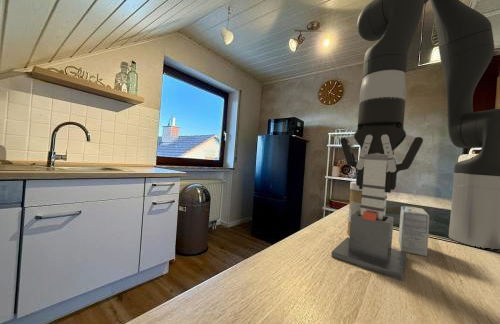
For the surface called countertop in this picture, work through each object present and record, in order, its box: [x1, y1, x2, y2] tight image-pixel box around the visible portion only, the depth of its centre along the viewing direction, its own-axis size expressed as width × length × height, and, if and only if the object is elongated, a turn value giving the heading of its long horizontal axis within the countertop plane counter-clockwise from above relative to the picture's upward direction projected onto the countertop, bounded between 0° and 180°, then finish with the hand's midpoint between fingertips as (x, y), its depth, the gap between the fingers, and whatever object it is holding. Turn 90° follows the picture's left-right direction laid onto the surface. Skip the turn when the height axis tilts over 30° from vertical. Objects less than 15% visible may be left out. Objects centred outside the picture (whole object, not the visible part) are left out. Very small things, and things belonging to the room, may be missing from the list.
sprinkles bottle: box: [346, 180, 362, 236], centre depth 53 cm, size 5×5×14 cm
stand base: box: [331, 211, 408, 281], centre depth 41 cm, size 11×11×9 cm
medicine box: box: [398, 205, 430, 257], centre depth 47 cm, size 8×4×9 cm, turn 148°
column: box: [360, 154, 388, 221], centre depth 41 cm, size 4×4×17 cm
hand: (374, 190), depth 41 cm, fingers closed on column, 3 cm apart
